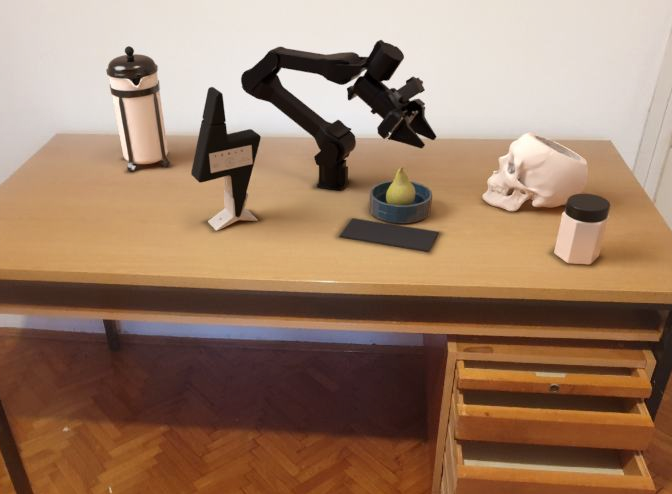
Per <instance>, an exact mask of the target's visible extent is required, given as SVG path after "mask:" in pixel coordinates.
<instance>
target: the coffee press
mask: <svg viewBox="0 0 672 494" xmlns="http://www.w3.org/2000/svg"><path fill="white" fill-rule="evenodd" d="M124 53H125V54H124V55H119V56H117V57H114V58H113V59H111V60H110V61H109V63H108V64H107V68H106V70H105V71H106V75H107V76H108V80H109V90H110V94H111V95H112V101H113V107H114V112H115V113H114V114H115V118H116V124H117V129H118V134H119V140H120V145H121V150H122V155H123V158H124V159H125V161H127V171H128V172H132V173H133V172H135V170H136V168H137V166H138V165H149V164H154V163H160V164H161V165H162V166H163V167H164V168H167V167H169V166H171V161H170V160H169V159H168V157H167V155H168V153H169V151H168V142H167V135H166V128H165V120H164V114H163V113H164V112H163V106H162V100H161V92H160V90H161V85H160V80H159V79H158V78H159V77H158V71H159V66H158V64H156V62H155V61H154V59H153V58H151V57H150V56H148V55H145V54H139V53H138V54H136V53H135V49H134V47H132V46H130V45H129V46H126V47H125V48H124Z"/></svg>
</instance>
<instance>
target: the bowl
mask: <svg viewBox="0 0 672 494" xmlns="http://www.w3.org/2000/svg"><path fill="white" fill-rule="evenodd" d="M393 181H394V180H389V181H387V180H386V181H384V182H383V181H382V182H380V183H376V185H374V186H372V187H371V188H370V190H369V202H368V203H369V207H368V208H369V209H368V210H369V212H370V215H372V216H373V217H374V218H376V219H378V220H380V221H383V222H387V223H393V224H409V223H410V224H411V223H417V222H419V221H422V220H424V219H426V218H427V217H429V216H430V214H431V212H432V204H433V192H432V190H431V189H430V188H429V187H428V186H426V185H424V184H422V183H419V182H416V181H410V180H409V181H410V182H411V183H412V185H413V186H414V188H415V199H414V202H413V204H412V205H407V206H406V205H391V204H388V203H387V200H386V193H387V190H388V188H389V186H390V185H391V184H392V183H393Z"/></svg>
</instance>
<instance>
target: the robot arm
mask: <svg viewBox="0 0 672 494" xmlns="http://www.w3.org/2000/svg"><path fill="white" fill-rule="evenodd" d="M404 59H405V54H404V52H403V51H402V50H401V49H400V48H399V47H398V46H396V45H394V44H391V43H389V42H385V41H384V40H382V39H379V40H377V41H376V42H375V43H374V45H373V48H372V50H371V51H370V53H369V55H368V56H360V55H359V54H358V53H357V52H354V51H348V52H347V51H346V52H337V53H330V54H324V53H318V52H312V51H305V50H298V49H292V48H287V47H284V46H276V47H275V48H272V49H270V50H269V51H267V53H266V54H265V55H264V56H263V58H262V59H260V60H259V61H258V62H257V63H255V65H254V66H252V67H251V68H249V69H247V70H245V71H243V72H242V74H241V77H240V82H241V83H240V84H241V88H242V90H243V91H244V92H245V93H246V94H247V95H249V96H251V97H253V98H254V99H257V100H260V101H264V102H267V103H270V104H271V105H273V106H274V107H275V108H276V109H277V110H279V111H280V112H282V113H283V115H285V116H286V117H288V118H289V119H290V120H291V121H293V122H294V123H295V124H296V125H298V126H299V127H300V128H301V129H303V130H304V131H305V132H306V133H308V134H309V135H310V136H311V137H313V139H314V141H315V142H316V145H317V147H318V149H319V150H320V151H318V152H317V153H316V154H315V155H314V157H313V159H314V162H315V165H316V166H318V183H316V188H321V189H328V190H335V191H342V190H343V188H344V187H345V186H346V185H347V183H348V182H349V166H348V165H347V159H346V158H349V157H350V154H351V152H354V150H355V148H356V146H357V141H356V136H355V134H354V133H353V132H352V128H351V127H348V125H347V126H346V124H344V122H343V121H341V119H336V120H334V121H333V122H329V121H327V120H326V119H324V118H323V117H322V116H321V115H319V114H318V113H317V112H316V111H315V110H313V109H312V108H311V107H309V106H308V105H307V104H305V103H304V102H303V101H302V100H300V99H299V98H298V97H296V96H295V95H294V94H293V93H291V91H289V90H288V89H287V88H285V87H284V86H283V84H282V82H281V79H280V77H279V75H278V73H279V72H281V70H282V69H285V70H291V71H295V72H296V71H297V72H302V73H309V74H315V75H319V76H321V77H323V78H324V79H325V80H326V81H329V82H331V83H333V84H337V85H339V86H344V85H346V84H348V83H350V82H352V81H353V80H355V79H356V80H355V82H354V83H353V85H350V86H348V87H347V88H346V91H347V92H346V93H347V101H352V100H354V99H355V98H356V97H358V98H359V99H360V101H362V102H363V103H365V104H366V106H368V107H369V108H370V109H371V110H370V111H369V112H370V113H371V114H372V115H376V114H377V115H378V116H379V117H380V118H381V119H382V120H381V122H380V123H379V125H378V126H377V134H378V135H379V136H380V137H381V138H382V139H383V140H385V139H387V140H388V141H394V142H398V143H402V144H405V145H408V146H412V147H415V148H418V149H420V150H421V149H423V148H424V147H425V146H426V143H425V142H424V141H423V140H422V139H421V138H420V136H422V137H424V138H427V139H429V140H431V141H435V140H436V138H437V135H436V133H435V131H434V130H433V128H432V127H431V125H430V123H429V122H428V119H427V118H426V113H425V112H426V106H425V105H426V103H425V102H424V101H423V100H421V98H414V97H415V96H417V95H419V94H421V93H423V92H425V91H426V89H425V87H424V81H423V80H421V79H420V77H415V76H411V77H410V78H407V80H405V84H404V85H403V86H400V87H399V88H398V89H396V88H395V87H390V88H389V87H388V86H387V85H386V84H385V83H384V82H388V81H390V80H391V79H392V77H393V75H394V74H395V72H396V71H397V70H398V68H399V67H400V65H401V64H402V62H403V60H404ZM364 71H365V73H364V74H363V75H361V74H362V73H363V72H364ZM412 98H414V99H412Z"/></svg>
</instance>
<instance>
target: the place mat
mask: <svg viewBox="0 0 672 494" xmlns="http://www.w3.org/2000/svg"><path fill="white" fill-rule="evenodd" d="M438 235H439V231H436V230H429V229H424V228H418V227H417V228H416V227H411V226H403V225H398V224H392V223H386V222H385V223H384V222H379V221H373V220H366V219H360V218H354V217H352V218H351V219H350V221H349V222H348V224H347V225H346V226H345V227H344V228H343V230H342V231H341V233H340V234H339V238H343V239H348V240H354V241H361V242H367V243H371V244H372V243H373V244H379V245H383V246H384V245H385V246H390V247H395V248H396V247H397V248H402V249H408V250H413V251H420V252H425V253H429V252H430V251H431V248H432V246H433V245H434V243H435V241H436V239H437V237H438Z"/></svg>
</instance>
